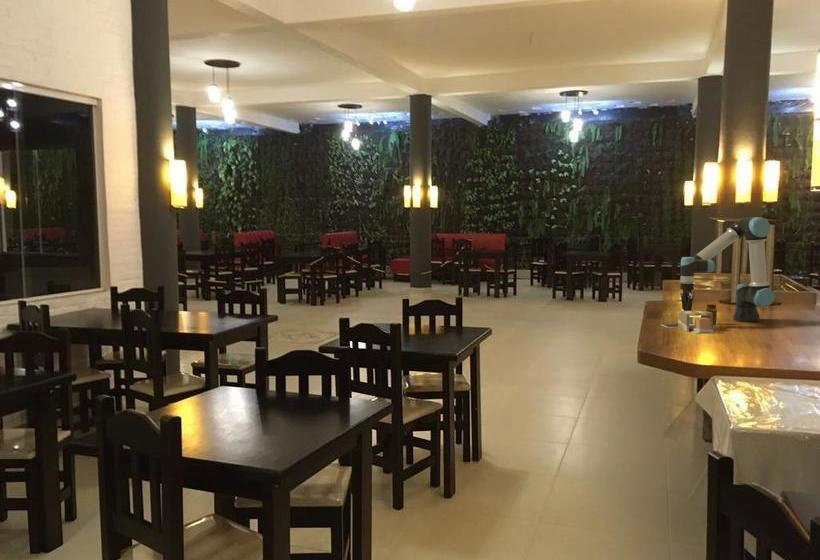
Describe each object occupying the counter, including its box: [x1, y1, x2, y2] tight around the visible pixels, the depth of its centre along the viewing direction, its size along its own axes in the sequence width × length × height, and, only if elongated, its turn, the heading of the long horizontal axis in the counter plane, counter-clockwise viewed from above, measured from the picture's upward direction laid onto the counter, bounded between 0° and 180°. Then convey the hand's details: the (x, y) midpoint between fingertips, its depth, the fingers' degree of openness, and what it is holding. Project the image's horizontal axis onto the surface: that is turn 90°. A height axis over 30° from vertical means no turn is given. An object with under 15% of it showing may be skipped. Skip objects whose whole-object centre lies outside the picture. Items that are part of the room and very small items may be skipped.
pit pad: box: [661, 323, 678, 329], centre depth 418 cm, size 17×10×1 cm, turn 93°
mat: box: [691, 330, 716, 335], centre depth 394 cm, size 11×7×1 cm, turn 93°
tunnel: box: [677, 310, 713, 332], centre depth 404 cm, size 15×11×10 cm
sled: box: [689, 316, 714, 332], centre depth 403 cm, size 8×25×7 cm, turn 3°
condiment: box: [705, 303, 718, 326], centre depth 421 cm, size 7×8×12 cm
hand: (686, 321), depth 416 cm, fingers closed
